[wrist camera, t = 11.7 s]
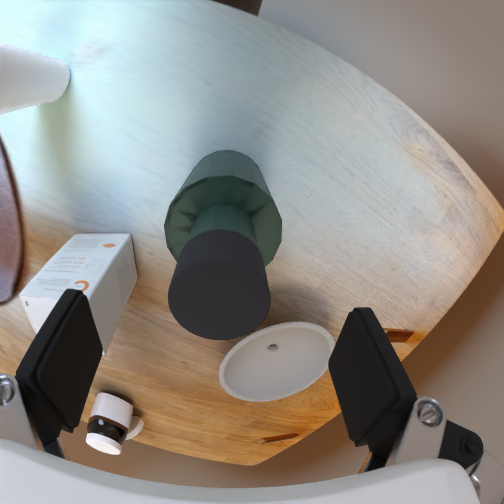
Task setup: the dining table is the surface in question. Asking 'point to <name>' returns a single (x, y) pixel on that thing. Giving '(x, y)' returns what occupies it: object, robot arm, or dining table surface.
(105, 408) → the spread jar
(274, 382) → the dish
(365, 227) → the dining table surface
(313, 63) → the dining table surface
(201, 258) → the stopper
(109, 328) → the small box
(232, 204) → the bottle
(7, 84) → the white cup
